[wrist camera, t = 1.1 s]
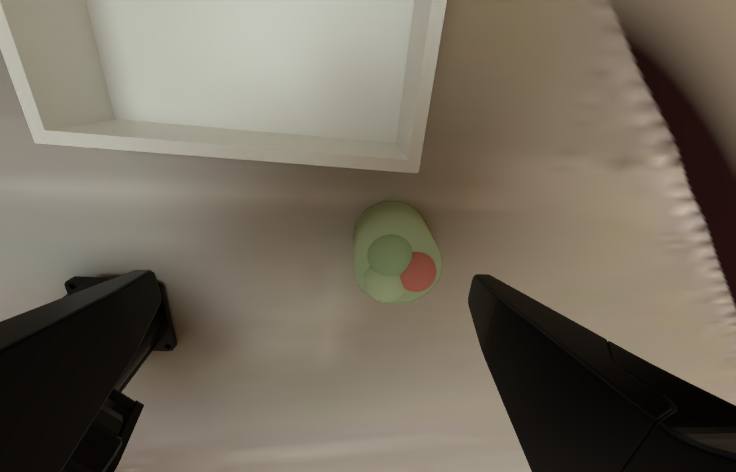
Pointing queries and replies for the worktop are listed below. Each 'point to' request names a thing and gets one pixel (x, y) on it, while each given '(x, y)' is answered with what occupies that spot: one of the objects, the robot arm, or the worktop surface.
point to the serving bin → (229, 77)
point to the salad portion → (395, 254)
